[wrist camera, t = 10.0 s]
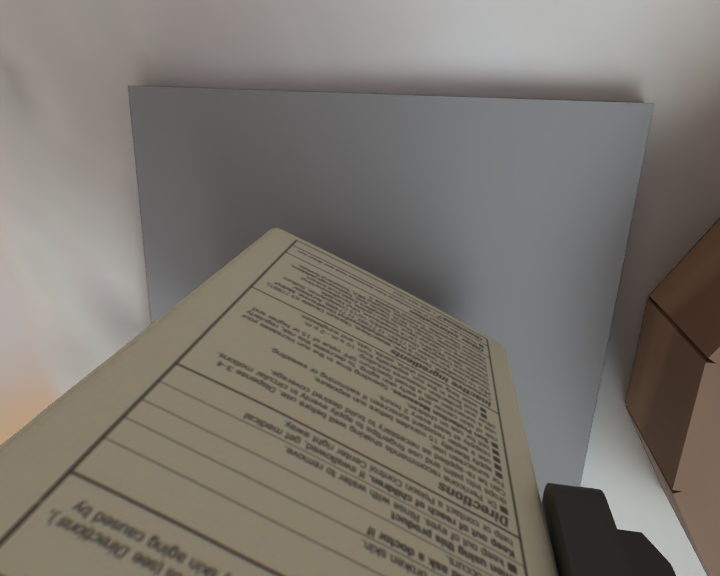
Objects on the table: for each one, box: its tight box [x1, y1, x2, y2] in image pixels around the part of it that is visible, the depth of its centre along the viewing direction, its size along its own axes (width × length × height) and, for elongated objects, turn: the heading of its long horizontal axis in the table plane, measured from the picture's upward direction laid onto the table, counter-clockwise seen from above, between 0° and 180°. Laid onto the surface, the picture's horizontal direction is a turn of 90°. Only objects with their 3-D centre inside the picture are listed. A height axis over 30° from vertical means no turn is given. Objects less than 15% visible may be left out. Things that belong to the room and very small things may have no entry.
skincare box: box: [0, 228, 559, 576], centre depth 8 cm, size 6×4×12 cm
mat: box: [128, 86, 654, 503], centre depth 15 cm, size 12×12×1 cm
